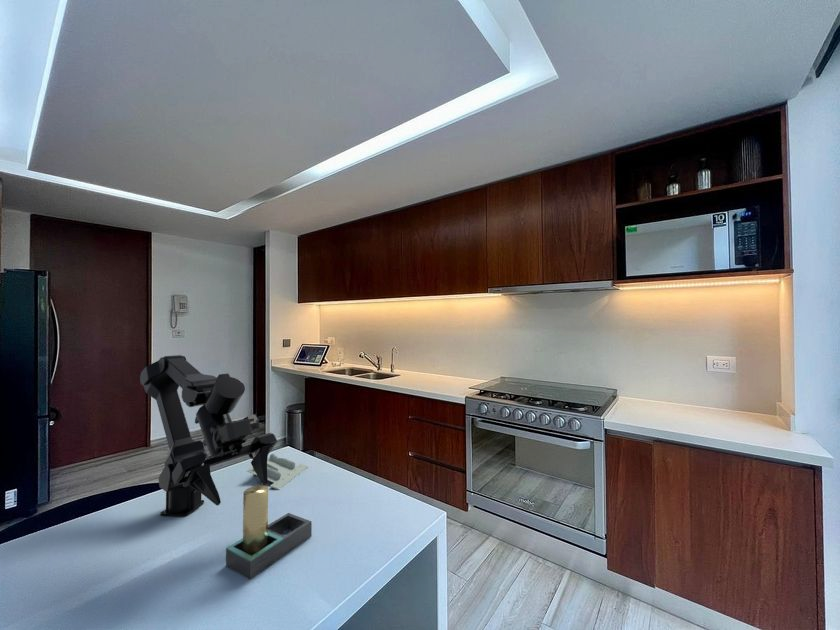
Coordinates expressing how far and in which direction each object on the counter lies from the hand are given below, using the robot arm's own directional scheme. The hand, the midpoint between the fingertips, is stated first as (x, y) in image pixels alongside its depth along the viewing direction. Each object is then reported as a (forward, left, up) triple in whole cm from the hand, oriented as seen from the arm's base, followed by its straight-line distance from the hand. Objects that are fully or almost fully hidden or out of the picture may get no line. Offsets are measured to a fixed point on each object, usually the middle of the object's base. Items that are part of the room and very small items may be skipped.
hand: (243, 494), depth 67 cm
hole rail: (+5, +1, -11) cm, 12 cm away
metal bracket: (-10, +33, -12) cm, 37 cm away
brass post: (+4, -2, -11) cm, 12 cm away
